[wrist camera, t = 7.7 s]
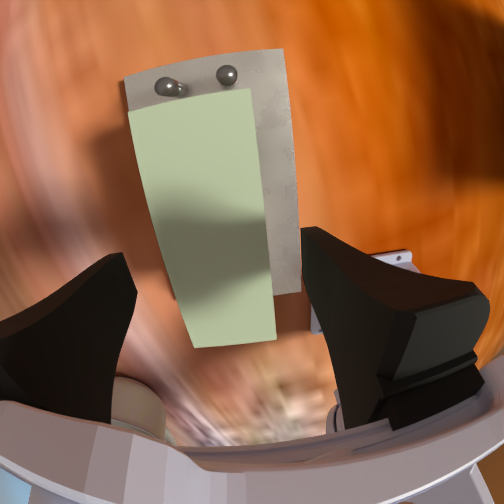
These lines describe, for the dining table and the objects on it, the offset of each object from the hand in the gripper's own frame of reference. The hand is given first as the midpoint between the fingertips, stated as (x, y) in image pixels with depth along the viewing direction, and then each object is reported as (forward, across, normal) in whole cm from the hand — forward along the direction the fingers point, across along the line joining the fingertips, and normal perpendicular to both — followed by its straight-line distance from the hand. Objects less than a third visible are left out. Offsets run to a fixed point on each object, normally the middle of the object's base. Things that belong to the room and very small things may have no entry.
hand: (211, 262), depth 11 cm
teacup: (+10, +16, +25) cm, 31 cm away
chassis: (+9, 0, 0) cm, 9 cm away
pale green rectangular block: (+7, 0, 0) cm, 7 cm away
